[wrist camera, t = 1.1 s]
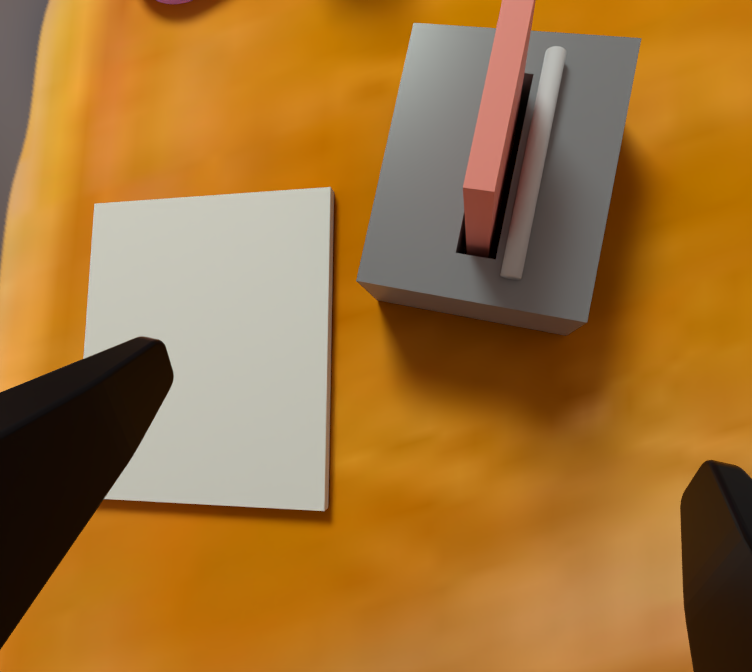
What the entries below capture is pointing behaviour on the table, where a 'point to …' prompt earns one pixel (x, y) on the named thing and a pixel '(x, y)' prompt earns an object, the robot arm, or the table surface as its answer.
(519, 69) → the pink rectangular prism
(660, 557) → the table surface
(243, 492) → the mat
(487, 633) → the table surface
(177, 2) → the bracket
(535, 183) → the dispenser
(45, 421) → the robot arm
